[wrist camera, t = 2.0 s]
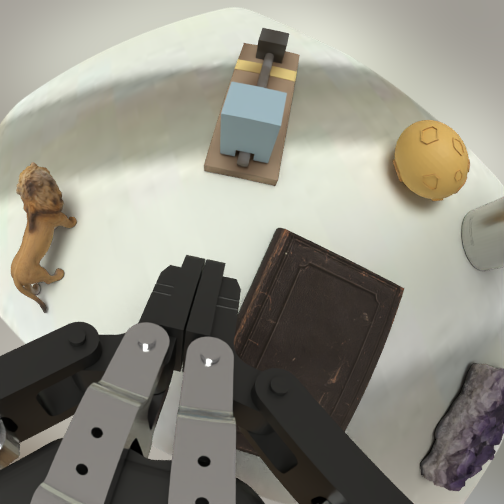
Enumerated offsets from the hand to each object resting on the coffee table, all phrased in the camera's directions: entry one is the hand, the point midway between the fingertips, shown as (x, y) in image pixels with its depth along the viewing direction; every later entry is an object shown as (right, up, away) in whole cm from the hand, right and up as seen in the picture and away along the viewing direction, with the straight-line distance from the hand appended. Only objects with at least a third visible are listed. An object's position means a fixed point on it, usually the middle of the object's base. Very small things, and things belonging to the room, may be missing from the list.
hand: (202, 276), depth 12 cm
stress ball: (+23, +11, +24) cm, 36 cm away
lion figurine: (-21, +2, +18) cm, 28 cm away
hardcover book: (+7, -10, +19) cm, 23 cm away
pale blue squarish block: (+1, +13, +20) cm, 24 cm away
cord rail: (+3, +19, +23) cm, 30 cm away
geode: (+33, -24, +19) cm, 45 cm away
